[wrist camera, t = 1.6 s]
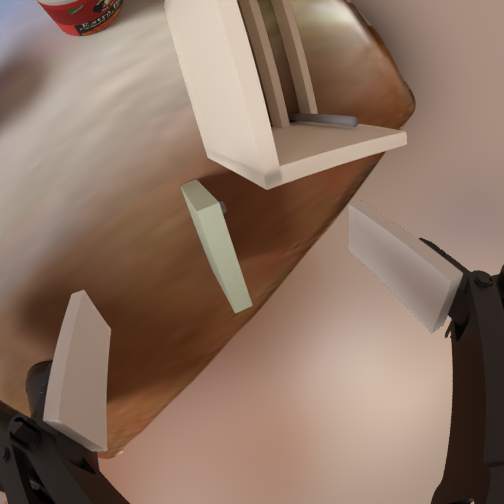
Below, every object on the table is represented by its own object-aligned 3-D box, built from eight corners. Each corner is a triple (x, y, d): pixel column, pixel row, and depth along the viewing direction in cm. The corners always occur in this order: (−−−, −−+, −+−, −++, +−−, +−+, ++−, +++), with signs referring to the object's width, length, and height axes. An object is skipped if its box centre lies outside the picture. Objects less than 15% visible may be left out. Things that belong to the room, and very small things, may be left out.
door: (230, 259, 38) (259, 302, 29) (211, 267, 37) (235, 313, 29) (202, 176, 31) (228, 199, 23) (180, 185, 31) (196, 211, 22)
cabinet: (309, 127, 33) (407, 144, 20) (207, 157, 30) (266, 189, 17) (274, -8, 22) (358, -56, 9) (163, 5, 20) (191, -74, 6)
